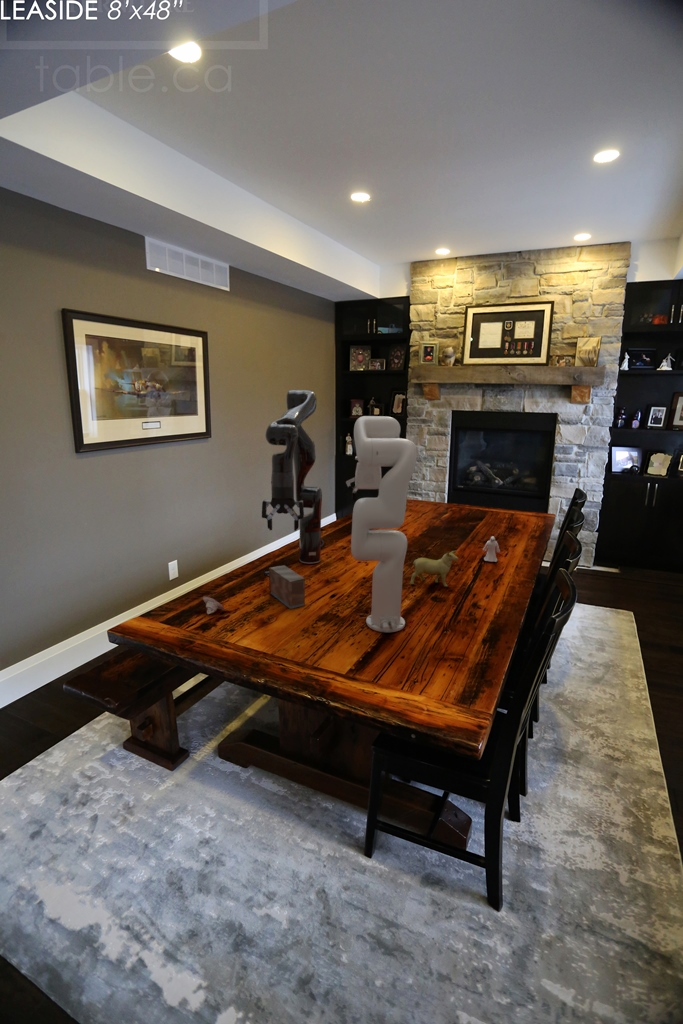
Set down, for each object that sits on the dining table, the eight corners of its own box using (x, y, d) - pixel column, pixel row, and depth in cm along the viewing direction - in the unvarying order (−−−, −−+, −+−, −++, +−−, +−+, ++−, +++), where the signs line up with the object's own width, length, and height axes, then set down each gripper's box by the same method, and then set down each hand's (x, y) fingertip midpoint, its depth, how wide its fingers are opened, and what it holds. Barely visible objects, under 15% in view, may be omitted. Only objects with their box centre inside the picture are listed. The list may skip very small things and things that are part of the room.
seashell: (209, 622, 169) (193, 604, 168) (220, 611, 173) (205, 594, 172) (217, 618, 163) (201, 599, 162) (228, 607, 167) (213, 589, 166)
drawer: (263, 584, 191) (262, 563, 189) (274, 581, 194) (273, 561, 192) (287, 602, 175) (286, 580, 173) (298, 599, 178) (298, 577, 176)
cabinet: (270, 593, 185) (270, 567, 182) (284, 590, 188) (284, 565, 186) (290, 608, 172) (290, 581, 170) (304, 605, 175) (304, 578, 173)
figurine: (481, 562, 222) (483, 536, 219) (482, 556, 230) (484, 531, 227) (499, 564, 220) (501, 538, 217) (499, 558, 228) (501, 533, 225)
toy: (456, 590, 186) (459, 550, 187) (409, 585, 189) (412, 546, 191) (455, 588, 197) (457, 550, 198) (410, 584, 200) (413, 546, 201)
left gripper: (304, 482, 172) (304, 527, 176) (263, 481, 172) (264, 526, 176) (302, 486, 165) (302, 533, 169) (259, 485, 165) (260, 532, 169)
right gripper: (346, 460, 189) (346, 504, 194) (392, 461, 190) (390, 505, 194) (345, 457, 197) (345, 500, 201) (389, 458, 197) (387, 500, 202)
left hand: (283, 529), depth 173 cm, fingers open, 8 cm apart
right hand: (367, 502), depth 198 cm, fingers open, 9 cm apart
